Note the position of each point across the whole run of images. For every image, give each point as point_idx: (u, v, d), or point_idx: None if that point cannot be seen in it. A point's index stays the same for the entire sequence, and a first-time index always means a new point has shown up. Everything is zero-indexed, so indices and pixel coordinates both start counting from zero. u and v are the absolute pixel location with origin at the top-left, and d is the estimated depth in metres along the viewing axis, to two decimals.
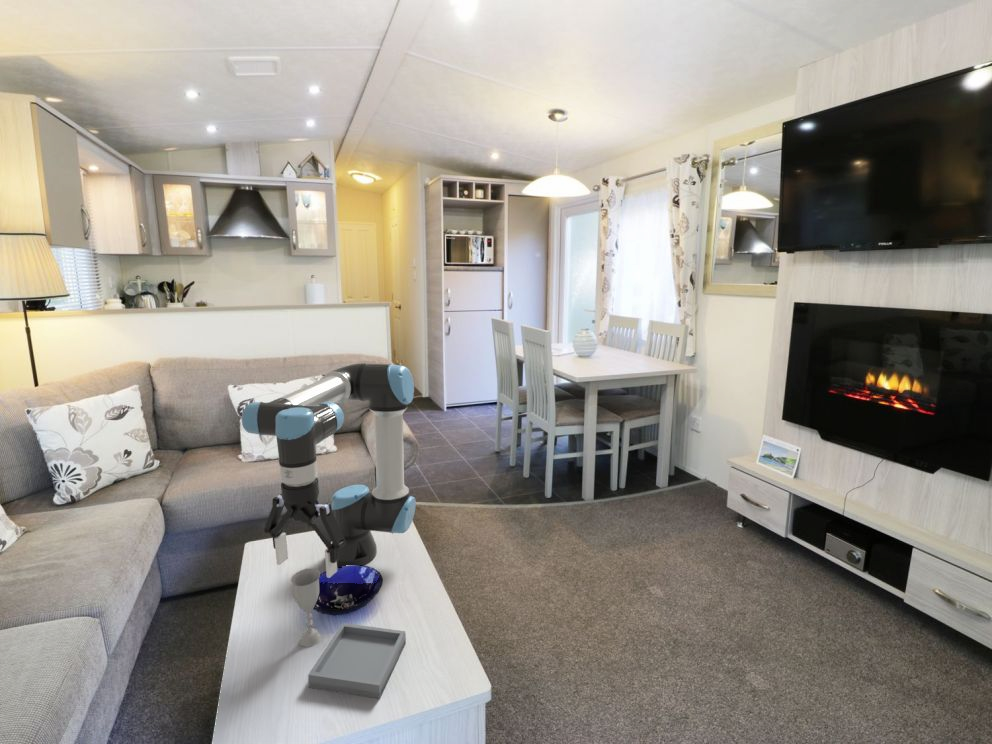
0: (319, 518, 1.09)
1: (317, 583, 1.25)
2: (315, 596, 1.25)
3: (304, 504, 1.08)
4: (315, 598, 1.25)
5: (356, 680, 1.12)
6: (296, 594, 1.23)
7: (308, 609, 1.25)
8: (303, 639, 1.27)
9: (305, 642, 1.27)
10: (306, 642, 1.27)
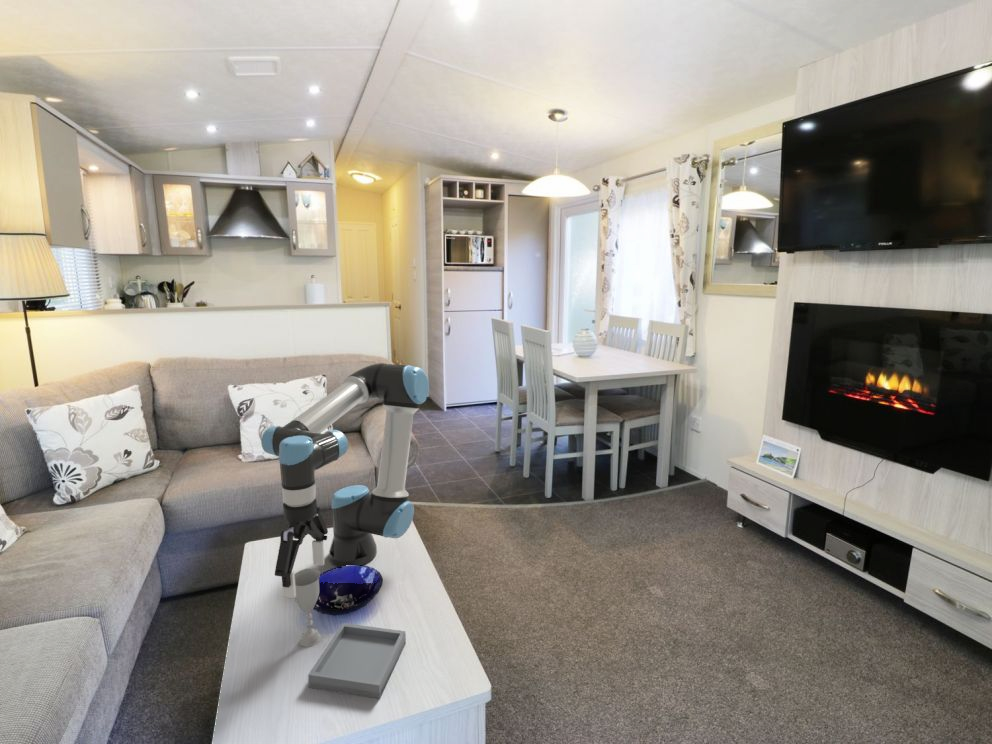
0: (294, 542, 1.19)
1: (317, 583, 1.25)
2: (315, 596, 1.25)
3: None
4: (315, 598, 1.25)
5: (356, 680, 1.12)
6: (296, 594, 1.23)
7: (308, 609, 1.25)
8: (303, 639, 1.27)
9: (305, 642, 1.27)
10: (306, 642, 1.27)
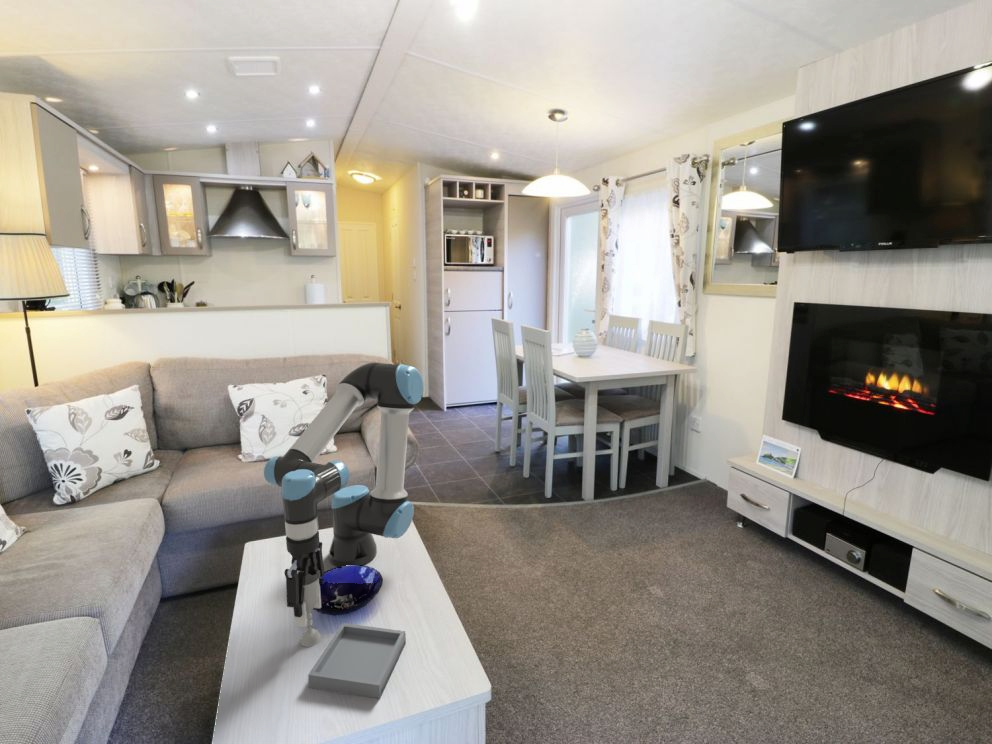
0: (300, 575, 1.22)
1: (317, 583, 1.25)
2: (315, 596, 1.25)
3: None
4: (315, 598, 1.25)
5: (356, 680, 1.12)
6: None
7: (308, 609, 1.25)
8: (303, 639, 1.27)
9: (305, 642, 1.27)
10: (306, 642, 1.27)
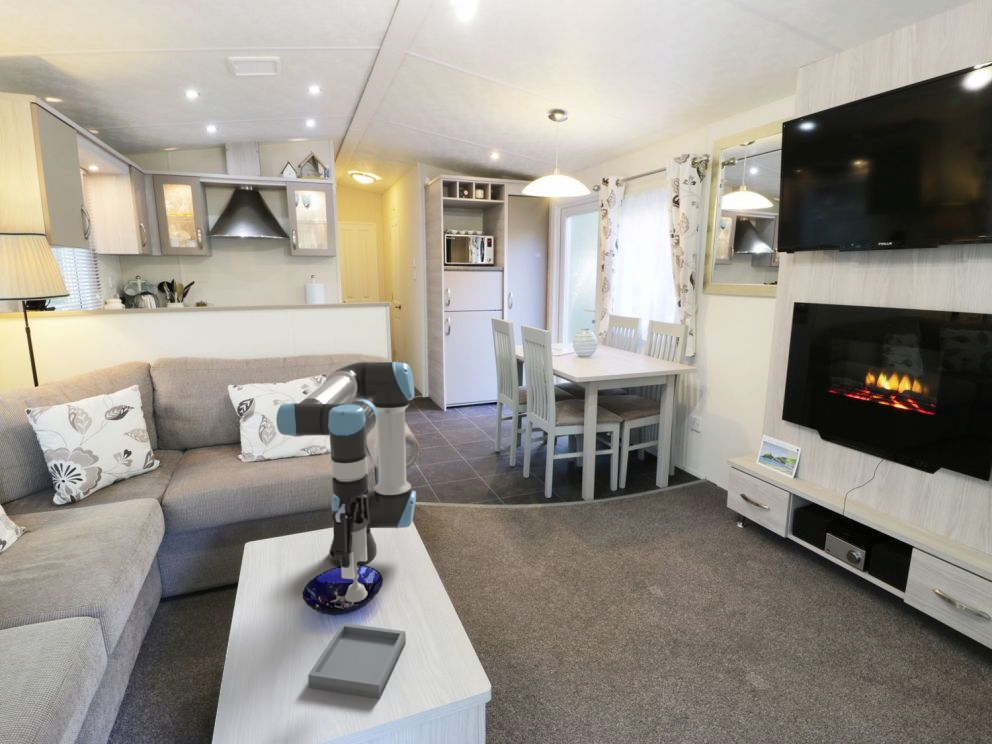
0: (348, 521, 1.10)
1: (365, 531, 1.14)
2: (363, 546, 1.13)
3: None
4: (363, 548, 1.13)
5: (356, 680, 1.12)
6: None
7: (355, 560, 1.13)
8: (349, 594, 1.15)
9: (351, 597, 1.15)
10: (352, 597, 1.15)
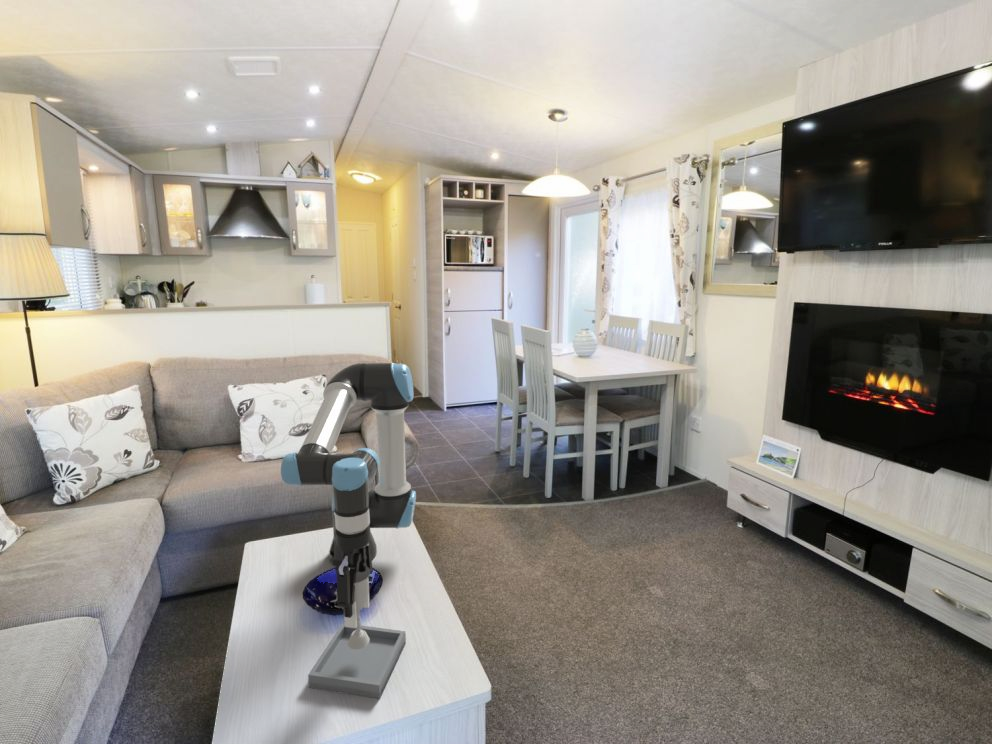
0: (351, 572, 1.13)
1: (367, 581, 1.16)
2: (365, 595, 1.16)
3: None
4: (365, 597, 1.16)
5: (356, 680, 1.12)
6: None
7: (358, 609, 1.16)
8: (351, 641, 1.18)
9: (354, 644, 1.18)
10: (354, 645, 1.18)
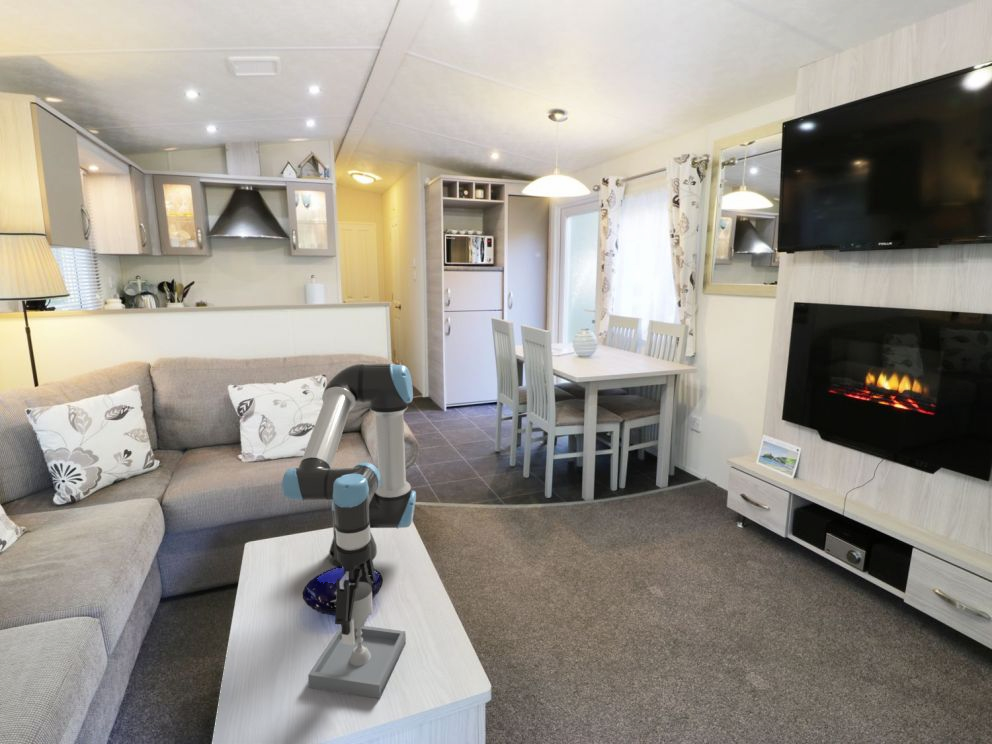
0: (350, 587, 1.13)
1: (369, 598, 1.18)
2: (367, 612, 1.17)
3: None
4: (367, 614, 1.17)
5: (356, 680, 1.12)
6: None
7: (359, 626, 1.17)
8: (353, 658, 1.19)
9: (355, 661, 1.19)
10: (356, 661, 1.19)
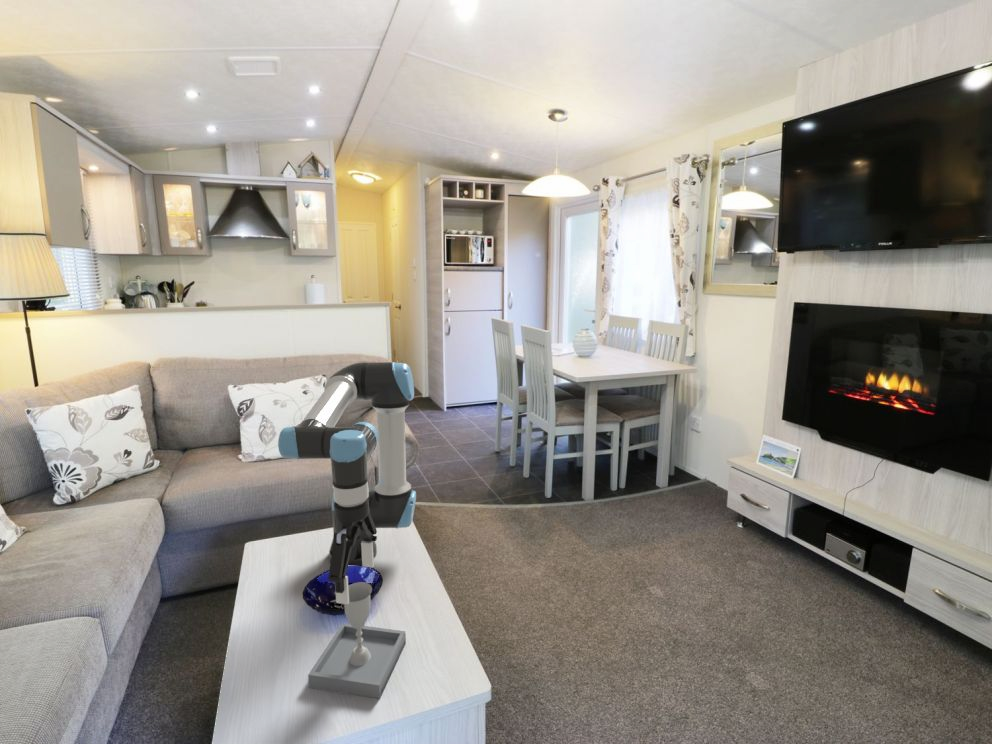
0: (347, 544, 1.10)
1: (369, 598, 1.18)
2: (367, 612, 1.17)
3: None
4: (367, 614, 1.17)
5: (356, 680, 1.12)
6: (347, 610, 1.15)
7: (359, 626, 1.17)
8: (353, 658, 1.19)
9: (355, 661, 1.19)
10: (356, 661, 1.19)
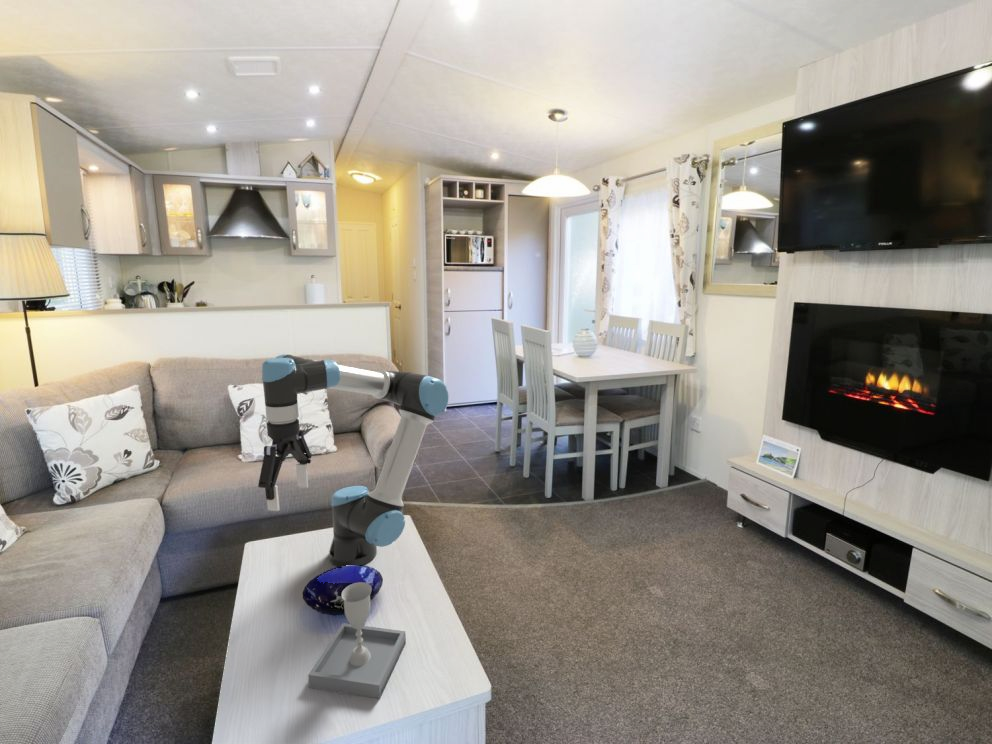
0: (278, 458, 1.24)
1: (369, 598, 1.18)
2: (367, 612, 1.17)
3: None
4: (367, 614, 1.17)
5: (356, 680, 1.12)
6: (347, 610, 1.15)
7: (359, 626, 1.17)
8: (353, 658, 1.19)
9: (355, 661, 1.19)
10: (356, 661, 1.19)
